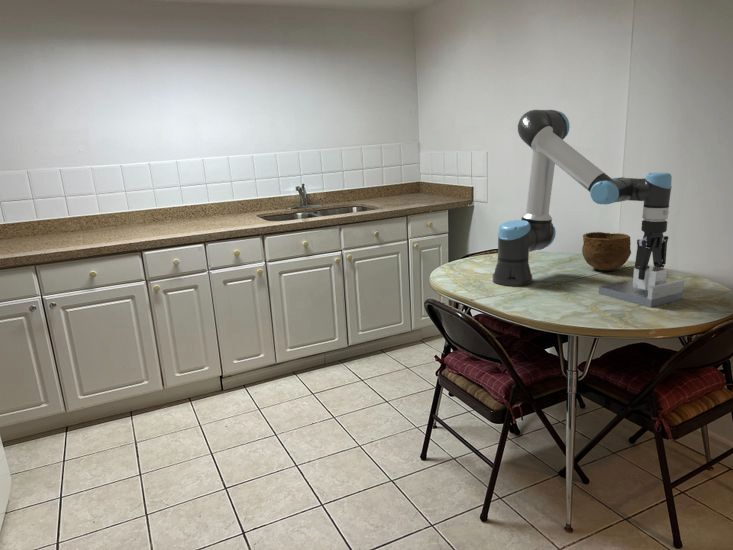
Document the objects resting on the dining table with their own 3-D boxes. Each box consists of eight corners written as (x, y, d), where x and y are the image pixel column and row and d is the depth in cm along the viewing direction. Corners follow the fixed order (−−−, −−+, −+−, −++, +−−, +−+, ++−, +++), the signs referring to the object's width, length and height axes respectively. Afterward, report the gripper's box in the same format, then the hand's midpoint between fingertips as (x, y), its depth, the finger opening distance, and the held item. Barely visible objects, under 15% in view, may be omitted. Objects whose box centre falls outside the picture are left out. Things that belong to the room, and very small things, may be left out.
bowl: (572, 266, 236) (574, 232, 232) (613, 264, 237) (616, 230, 234) (593, 276, 217) (596, 239, 214) (638, 274, 219) (641, 237, 215)
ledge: (650, 307, 177) (652, 288, 175) (598, 293, 194) (599, 275, 192) (682, 298, 185) (684, 280, 183) (629, 286, 202) (630, 269, 200)
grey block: (654, 292, 181) (656, 269, 179) (632, 287, 188) (634, 265, 186) (665, 289, 184) (667, 267, 182) (643, 284, 191) (645, 263, 189)
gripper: (647, 223, 173) (640, 293, 178) (682, 218, 182) (675, 285, 187) (626, 221, 179) (620, 288, 185) (661, 216, 188) (655, 280, 194)
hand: (648, 286), depth 186 cm, fingers closed on grey block, 6 cm apart
